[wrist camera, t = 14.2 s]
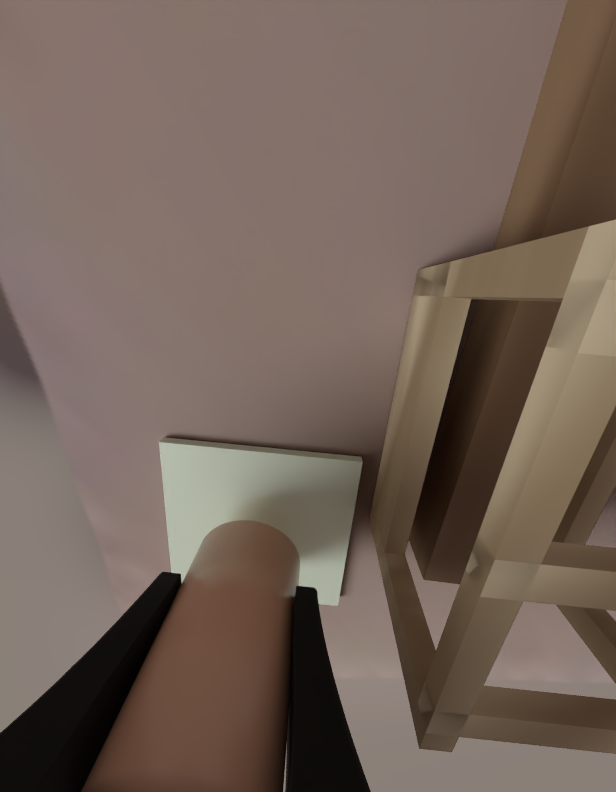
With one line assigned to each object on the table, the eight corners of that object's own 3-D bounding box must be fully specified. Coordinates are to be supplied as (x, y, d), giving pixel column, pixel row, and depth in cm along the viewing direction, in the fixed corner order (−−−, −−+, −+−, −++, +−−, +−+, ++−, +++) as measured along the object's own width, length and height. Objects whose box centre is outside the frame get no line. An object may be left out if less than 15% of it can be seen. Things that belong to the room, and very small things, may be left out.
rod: (664, -18, 7) (818, -158, 5) (458, 537, 13) (486, 587, 11) (569, -29, 7) (681, -176, 5) (405, 531, 13) (423, 579, 11)
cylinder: (305, 526, 11) (286, 784, 5) (295, 602, 12) (273, 877, 6) (197, 514, 11) (60, 758, 5) (200, 592, 12) (92, 854, 6)
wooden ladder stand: (618, 288, 9) (1291, 272, 3) (516, 533, 13) (719, 781, 6) (418, 269, 9) (633, 215, 3) (369, 518, 13) (419, 749, 6)
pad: (361, 456, 12) (362, 462, 11) (337, 597, 14) (337, 605, 14) (164, 437, 12) (159, 441, 11) (176, 581, 14) (172, 588, 14)
